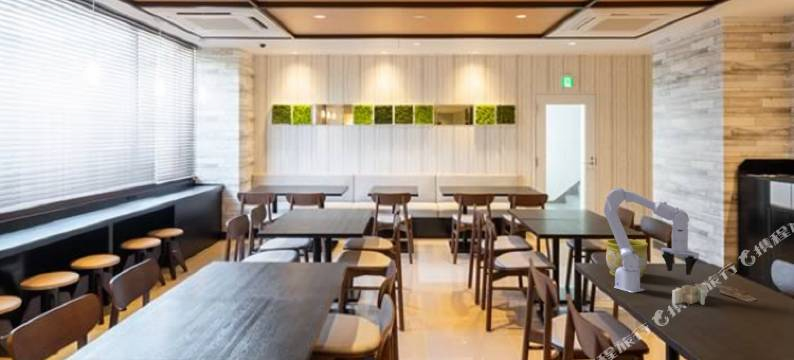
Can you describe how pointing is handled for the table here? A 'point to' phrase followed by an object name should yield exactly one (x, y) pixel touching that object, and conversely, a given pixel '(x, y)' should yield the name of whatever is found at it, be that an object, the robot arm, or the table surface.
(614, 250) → the flowerpot
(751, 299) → the wooden fragment
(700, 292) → the door
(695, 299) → the block
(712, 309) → the table surface
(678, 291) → the wall frame
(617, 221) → the robot arm
